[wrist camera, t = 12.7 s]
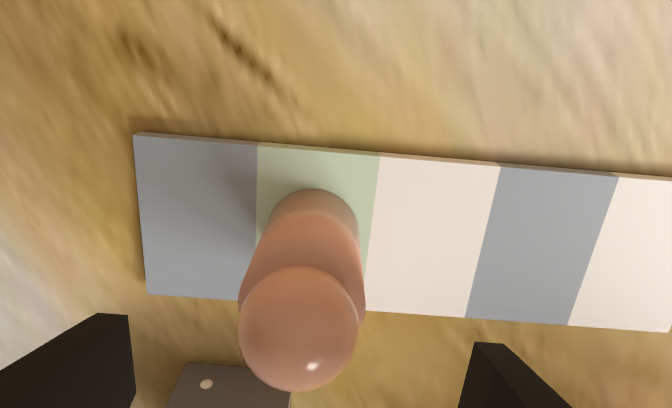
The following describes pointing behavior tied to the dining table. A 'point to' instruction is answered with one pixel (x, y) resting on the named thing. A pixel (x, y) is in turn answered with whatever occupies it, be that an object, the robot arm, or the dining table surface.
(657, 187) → the board
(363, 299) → the pawn
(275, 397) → the die
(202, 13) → the dining table surface
